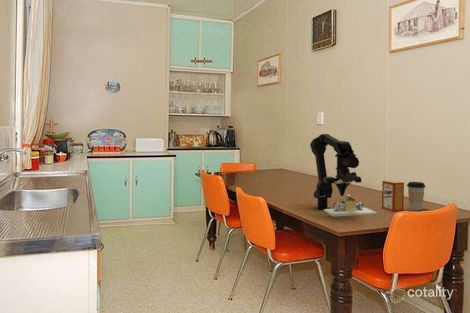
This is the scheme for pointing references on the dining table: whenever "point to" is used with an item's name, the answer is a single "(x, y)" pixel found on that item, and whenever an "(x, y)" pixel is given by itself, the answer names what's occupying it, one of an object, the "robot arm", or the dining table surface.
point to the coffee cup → (415, 195)
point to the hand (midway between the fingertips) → (342, 196)
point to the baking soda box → (392, 195)
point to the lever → (351, 198)
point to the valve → (348, 205)
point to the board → (350, 212)
